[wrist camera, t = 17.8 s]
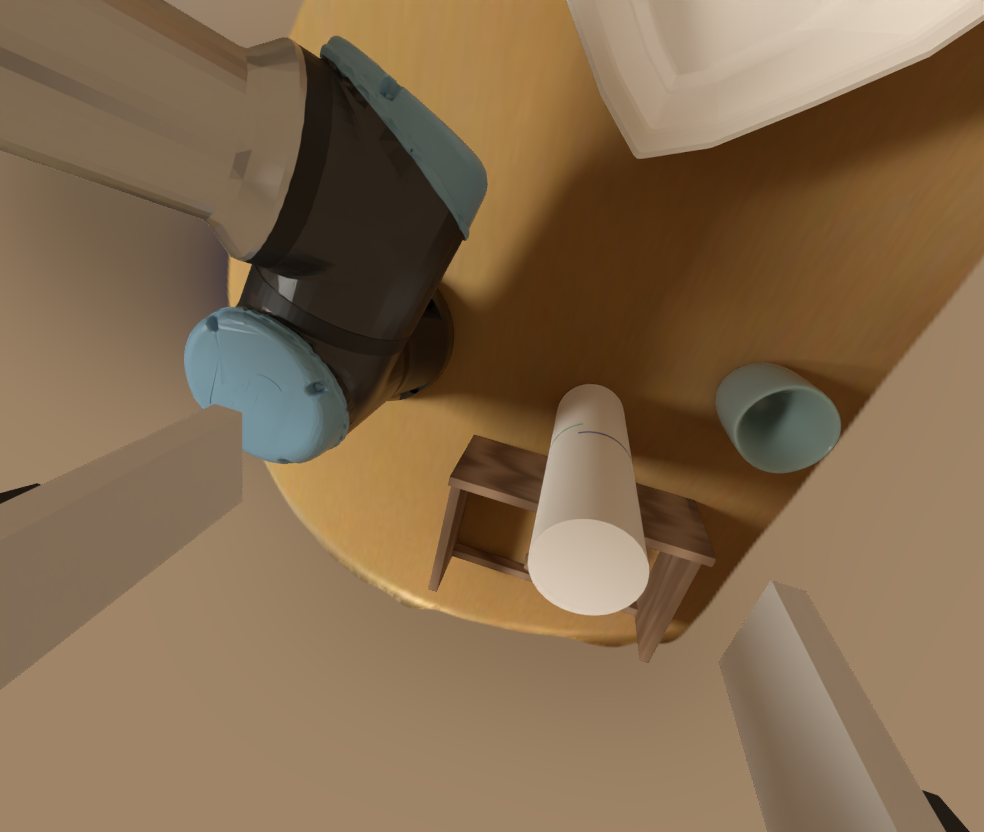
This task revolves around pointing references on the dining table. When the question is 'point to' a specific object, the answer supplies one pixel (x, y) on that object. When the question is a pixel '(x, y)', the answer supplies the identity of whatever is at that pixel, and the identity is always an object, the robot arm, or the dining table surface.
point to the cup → (776, 417)
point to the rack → (519, 484)
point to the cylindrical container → (589, 510)
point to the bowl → (747, 59)
